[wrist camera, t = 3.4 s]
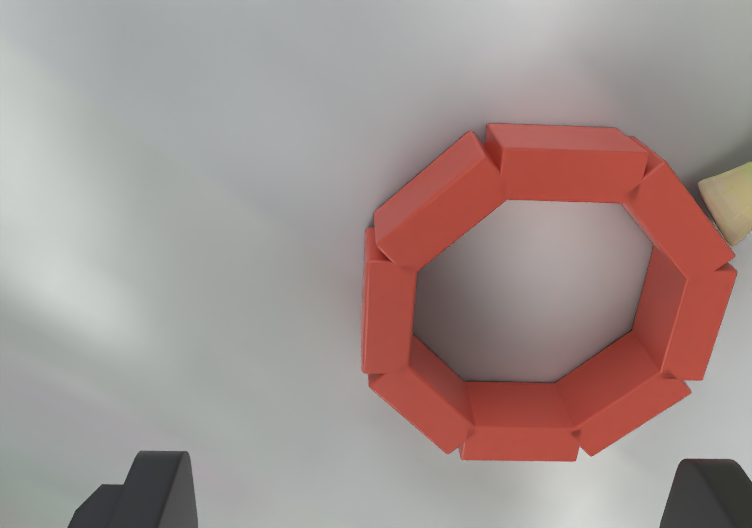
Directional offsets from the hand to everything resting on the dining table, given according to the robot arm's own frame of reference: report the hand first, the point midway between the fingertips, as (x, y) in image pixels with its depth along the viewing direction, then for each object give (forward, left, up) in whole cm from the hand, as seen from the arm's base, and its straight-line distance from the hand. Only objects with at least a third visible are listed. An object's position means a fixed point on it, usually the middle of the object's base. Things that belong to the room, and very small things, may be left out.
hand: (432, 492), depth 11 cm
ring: (+3, 0, -8) cm, 8 cm away
